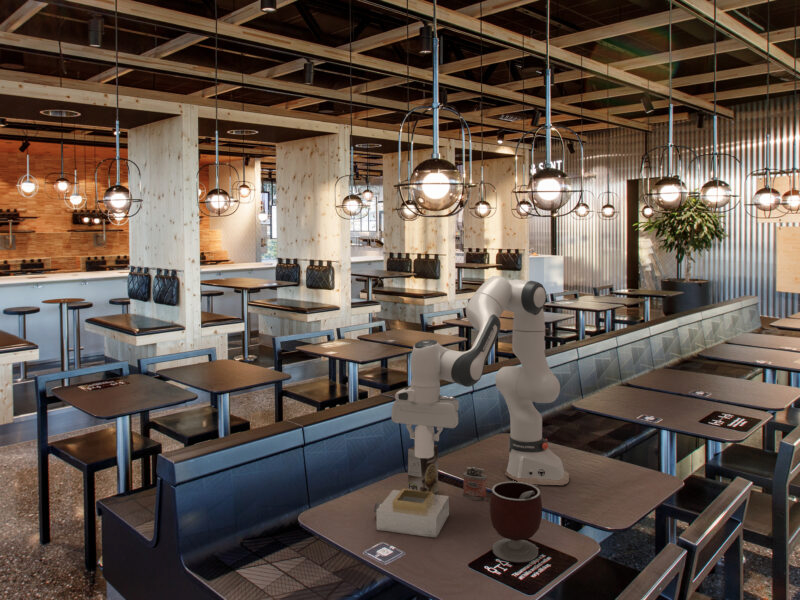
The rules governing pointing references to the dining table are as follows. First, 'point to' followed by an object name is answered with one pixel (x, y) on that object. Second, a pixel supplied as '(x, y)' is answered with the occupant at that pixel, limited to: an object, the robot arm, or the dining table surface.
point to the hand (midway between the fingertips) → (424, 439)
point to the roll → (424, 441)
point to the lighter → (474, 483)
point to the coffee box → (423, 471)
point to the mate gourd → (515, 519)
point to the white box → (412, 512)
